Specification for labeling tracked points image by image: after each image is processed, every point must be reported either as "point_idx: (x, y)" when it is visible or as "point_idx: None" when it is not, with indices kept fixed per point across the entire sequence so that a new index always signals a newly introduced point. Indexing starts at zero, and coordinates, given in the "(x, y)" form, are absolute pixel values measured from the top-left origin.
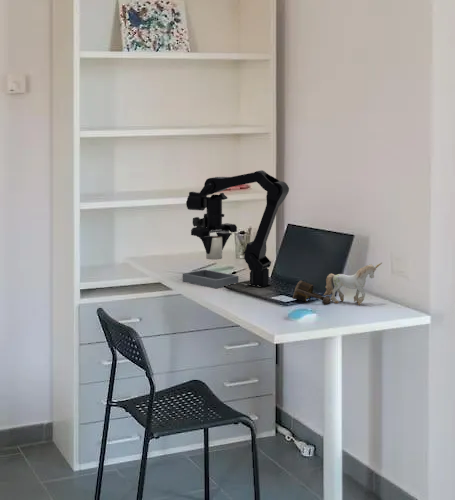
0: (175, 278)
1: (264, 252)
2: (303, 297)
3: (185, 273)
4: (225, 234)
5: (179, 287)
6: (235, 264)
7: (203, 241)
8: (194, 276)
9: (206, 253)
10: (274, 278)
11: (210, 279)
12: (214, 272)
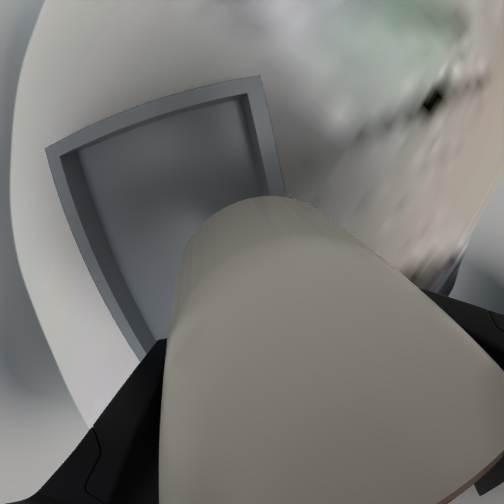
0: (79, 48)
1: None
2: None
3: (59, 152)
4: (489, 484)
5: (23, 271)
6: (481, 10)
7: (74, 489)
8: (83, 253)
9: (172, 302)
10: (450, 285)
11: (140, 359)
12: (268, 192)
